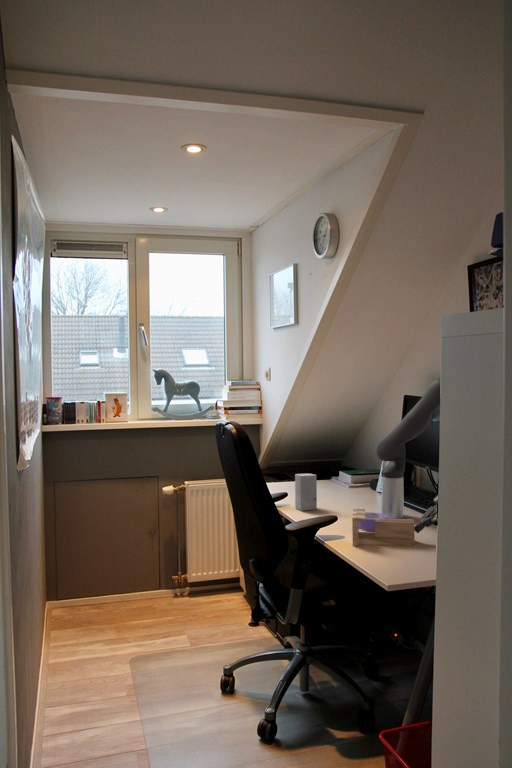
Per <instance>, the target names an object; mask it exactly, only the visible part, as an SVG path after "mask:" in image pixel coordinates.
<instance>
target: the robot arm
mask: <svg viewBox="0 0 512 768" xmlns="http://www.w3.org/2000/svg"><path fill="white" fill-rule="evenodd" d="M439 406H440V378H437V379H435V380H434V381H432V383H431V384H430V385H429V387H428V388H427V389H426V391H425V392H424V394H423V395H422V397H421V398H420V399H419V400H418V401H417V403H416V404H415V405H414V406H413V407H412V408H411V409H410V410H409V412H407V414H405V416H404V417H403V418H402V420H401V421H400V422H399V423H398V424H397V425H396V426H395V428H394V429H393V430H391V432H389V433H388V434H387V435H386V436H385V437H383V438H382V439H381V440H380V441H379V442H378V444H377V446H376V451H375V452H376V456H377V458H378V459H379V460H381V461H383V462H389V463H388V464H387V465H386V466H385V467H384V468H382V469H381V472H380V474H381V479H380V482H381V484H380V485H381V514H384V515H386V519H404V516H405V514H404V511H405V510H404V509H405V507H404V506H405V505H404V503H405V502H404V500H405V499H404V496H405V495H404V494H405V493H404V491H405V490H404V473H405V470H406V454H407V453H406V451H407V449H406V444H405V443H408V442H410V441H411V440H413V439H416V438H417V437H418V436H420V435H421V434H423V433H424V431H425V430H426V429H427V428H428V427H429V426H430V424H431V421H432V418H433V417H432V415H433V412H434V411H436V409H437V408H439ZM433 503H435V505H432V506H430V507H428V508H427V510H426V511H425V512H424V513H423V515H422V517H420V521H419V522H418V523H417V524H415V525H414V532H415V533H417V534H420V532H421V531H422V530H423V529H424V528H428V527H431V526H432V525H433V524H436V523H437V522H438V521H437V504H438V494H437V495H436V496H435V497H434V498H433Z"/></svg>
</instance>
